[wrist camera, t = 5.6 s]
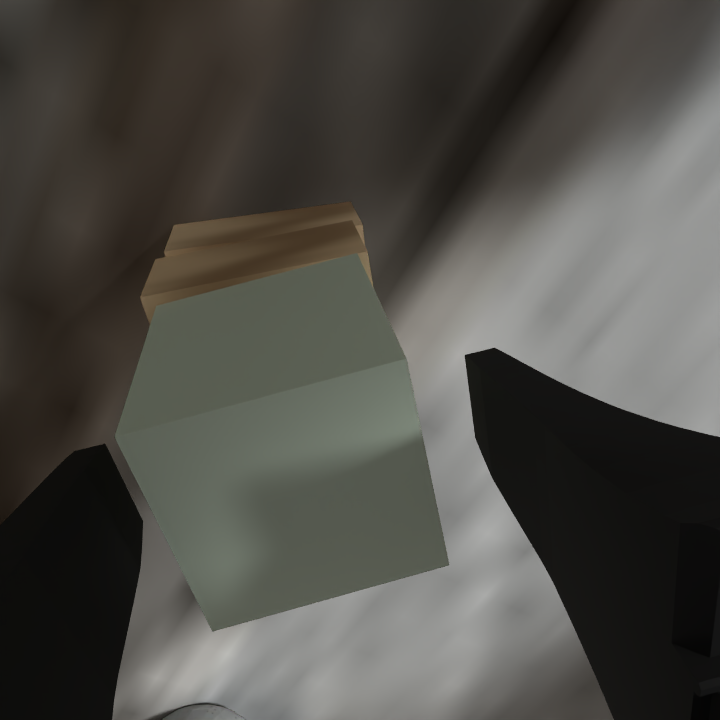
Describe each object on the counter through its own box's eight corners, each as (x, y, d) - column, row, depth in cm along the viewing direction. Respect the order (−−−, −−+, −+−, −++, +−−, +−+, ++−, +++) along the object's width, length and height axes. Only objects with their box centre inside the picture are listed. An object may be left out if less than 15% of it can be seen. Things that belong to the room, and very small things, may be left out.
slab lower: (349, 200, 19) (362, 224, 16) (364, 352, 21) (377, 391, 19) (174, 223, 18) (163, 251, 16) (210, 375, 20) (205, 418, 18)
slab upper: (351, 220, 16) (367, 251, 14) (379, 386, 19) (396, 435, 16) (155, 259, 16) (140, 297, 14) (209, 422, 18) (203, 477, 16)
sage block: (356, 252, 14) (406, 358, 10) (395, 418, 16) (449, 564, 12) (156, 305, 14) (114, 437, 10) (221, 465, 16) (212, 631, 12)
